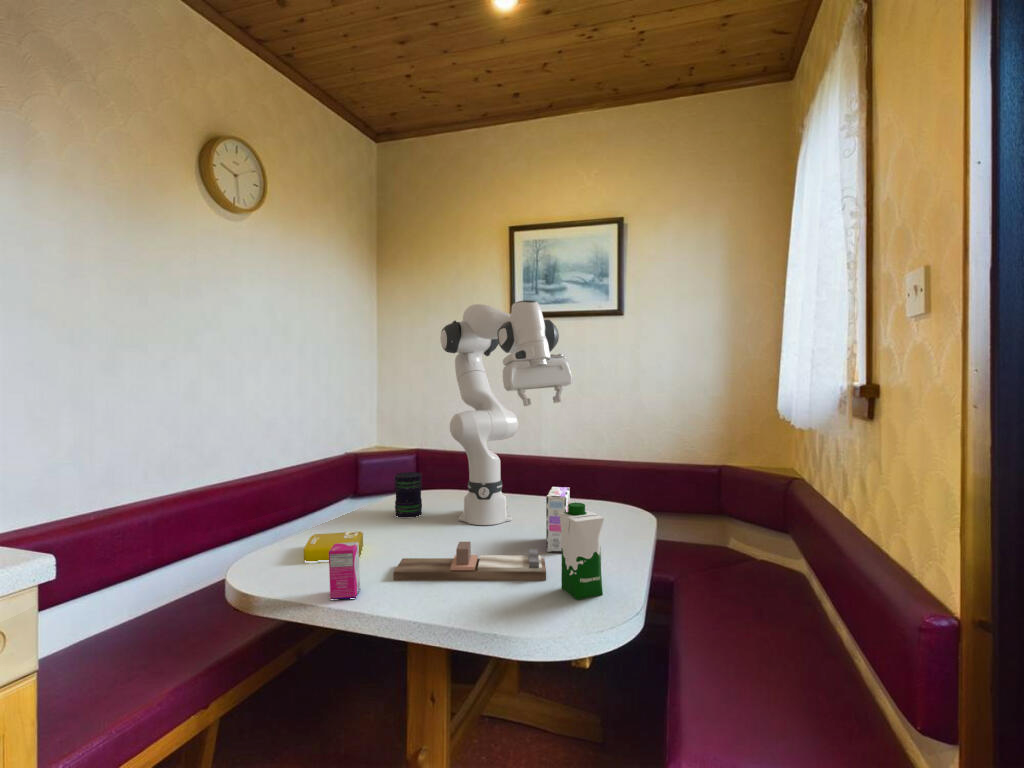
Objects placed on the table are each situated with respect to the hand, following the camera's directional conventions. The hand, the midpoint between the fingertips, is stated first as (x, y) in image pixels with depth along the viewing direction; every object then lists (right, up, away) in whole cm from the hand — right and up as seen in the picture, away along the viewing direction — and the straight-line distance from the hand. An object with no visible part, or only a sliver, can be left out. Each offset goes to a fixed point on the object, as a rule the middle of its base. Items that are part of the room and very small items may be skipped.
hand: (542, 404), depth 143 cm
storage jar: (-47, -43, +50) cm, 81 cm away
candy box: (+6, -43, +13) cm, 45 cm away
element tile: (-60, -44, +7) cm, 74 cm away
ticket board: (-19, -43, -9) cm, 48 cm away
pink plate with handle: (-21, -41, -9) cm, 47 cm away
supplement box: (-47, -44, -22) cm, 68 cm away
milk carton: (+8, -43, -21) cm, 49 cm away
